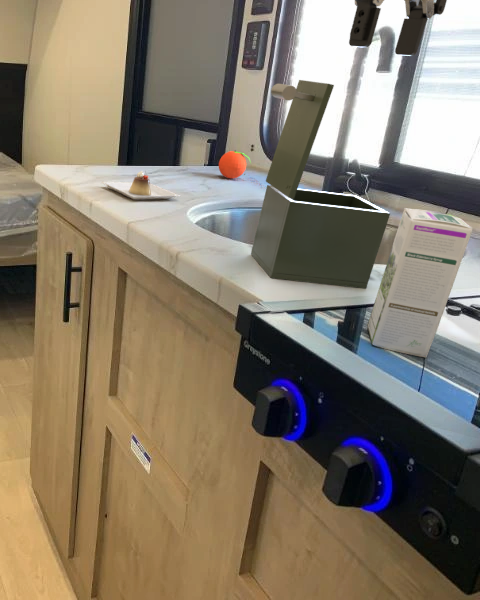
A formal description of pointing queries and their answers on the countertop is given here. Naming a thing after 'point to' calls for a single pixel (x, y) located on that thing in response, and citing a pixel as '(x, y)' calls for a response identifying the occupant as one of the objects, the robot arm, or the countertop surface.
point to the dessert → (140, 189)
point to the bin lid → (297, 132)
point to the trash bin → (319, 237)
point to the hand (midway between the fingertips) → (382, 51)
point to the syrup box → (417, 280)
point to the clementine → (232, 164)
